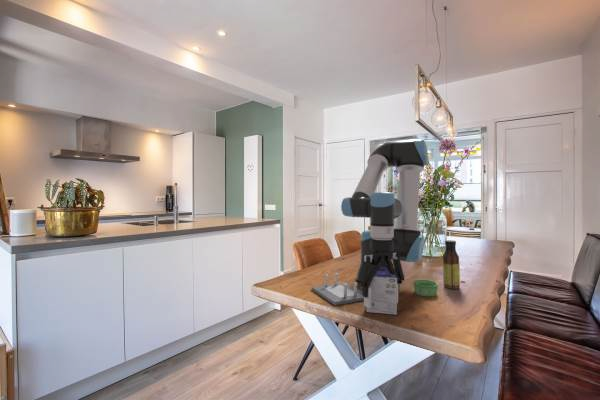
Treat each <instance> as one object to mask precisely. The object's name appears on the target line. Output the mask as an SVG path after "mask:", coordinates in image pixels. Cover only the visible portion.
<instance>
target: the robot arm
mask: <svg viewBox="0 0 600 400" xmlns="http://www.w3.org/2000/svg"><path fill="white" fill-rule="evenodd" d="M428 165H429V154H428V147H427V143H426V141H425V140H424V139H418V138H417V139H413V138H412V139H407V140H406V139H405V140H397V141H388V142H385V143H383V144H381V145H380V146H378V147H377V148H376V149H375V150H373V151H372V153H371V154H370V155H369V156H368V159H367V165H366V168H365V170H364V172H363V174H362V175H361V178H360V179H359V182H358V184H357V186H356V188H355V190H354V192H353V194H352V196H351V197H350V196H349V197H344V198H343V199H342V202H341V205H340V206H341V207H340V208H341V209H340V210H341V212H342V213H341V214H342V215H344V216H345V217H350V218H370V229H367V230H363V231H362V232H361V233H360V234H361V236H360V263H359V267H358V269H357V272H356V280H357V281H356V282H357V286H358V285H359V286H361V287H362V289H361V291H362V295H363V297H364V301H363V306H364V307H368V308H371V288H370V287H369V286H370V284H371V282H372V280H373V278H374V276H375V273H376V271H377V270H378V271H385V270H384V269H379V268H380V267H387V273H390V274H396V276H397V304H398V303H399V292H400V284H402V283H403V281H405V274H404V270H403V267H402V262H406V263H418V262H419V261H420V260H421V258H423V257H422V256H423V253H424V250H425V249H424V248H425V236H424V235H423V234H422V230H421V229H419V228H418V220H419V218H418V217H419V202H420V201H419V200H420V199H419V197H420V178H421V173H423V171H424V169H425V166H428ZM390 167H393V168H394V167H396V169H395V170H396V171H397V172H398V173H399V177H398V189H397V190H398V192H397V198H396V197H395V194H394V193H393V192H392V191H391V192H388V191H385V192H384V191H377V192H376V190H377V188H378V186H379V183H380V181H381V178H382V176H383V174H384V172H385V171H386V170H388V168H390ZM395 219H396V223H395ZM395 224H396V225H395Z"/></svg>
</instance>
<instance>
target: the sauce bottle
mask: <svg viewBox="0 0 600 400" xmlns="http://www.w3.org/2000/svg"><path fill="white" fill-rule="evenodd" d="M444 244H445V251H444V253H443V255H442V276H443V278H442V279H443V280H442V281H443V287H444V288H446V289H450V290H459V289H460V288H461V286H460V285H461V276H460V275H461V272H460V271H461V270H460V256H459V255H458V253H457V250H456V245H457V242H456V240H452V239H446V240H444Z"/></svg>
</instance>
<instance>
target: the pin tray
mask: <svg viewBox="0 0 600 400" xmlns="http://www.w3.org/2000/svg"><path fill="white" fill-rule="evenodd" d="M338 278H339V274H338V273H337V272H335V273H334V283H331V284H330V283H329V274H328V273H326V274H325V278H324V279H325V281H324V283H325V284H324V285H317V286H316V285H315V286H311V291H313V292H314V293H315V294H317V295H319V296H320V297H322V299H325V300H326V301H328V302H329V303H330V304H332V305H333V306H340V305H345V304H351V303H357V302H358V303H359V302H364V297H363V295H362V289H359V288H358V284H357V281H355V282H353V285H351V284H349V283H347V282H338Z"/></svg>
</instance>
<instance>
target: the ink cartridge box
mask: <svg viewBox="0 0 600 400" xmlns="http://www.w3.org/2000/svg"><path fill="white" fill-rule="evenodd" d="M379 269H384V270H385V271H378V270H377V271H376V273H375V276H374V278H373V280H372V282H371V284H370V286H369V287H370V288H371V308H368V307H366V306H365V307H366V310H365V311H366V313H372V314H373V313H375V314H386V315H395V316H396V315H397V314H398V313H397V312H398V303H397V276H396V274H390V273H387V267H380V268H379Z"/></svg>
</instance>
